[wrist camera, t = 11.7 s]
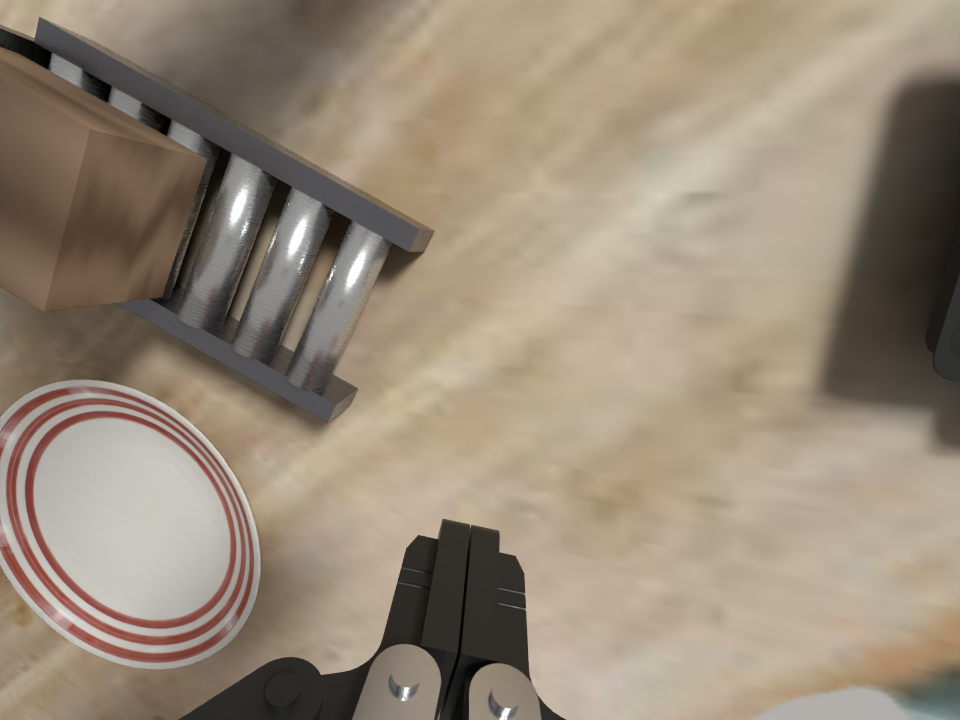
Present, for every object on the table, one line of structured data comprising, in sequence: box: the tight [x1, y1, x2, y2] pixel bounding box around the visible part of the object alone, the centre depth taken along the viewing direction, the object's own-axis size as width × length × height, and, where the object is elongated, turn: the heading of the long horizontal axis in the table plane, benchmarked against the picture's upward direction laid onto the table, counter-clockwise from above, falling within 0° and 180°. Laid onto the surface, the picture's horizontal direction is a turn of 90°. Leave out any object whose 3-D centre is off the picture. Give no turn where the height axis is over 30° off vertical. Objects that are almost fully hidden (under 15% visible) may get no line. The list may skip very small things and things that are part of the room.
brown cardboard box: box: [0, 47, 207, 312], centre depth 28 cm, size 10×14×8 cm
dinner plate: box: [0, 379, 261, 670], centre depth 42 cm, size 28×27×3 cm
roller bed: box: [0, 17, 434, 423], centre depth 32 cm, size 15×30×9 cm, turn 62°
